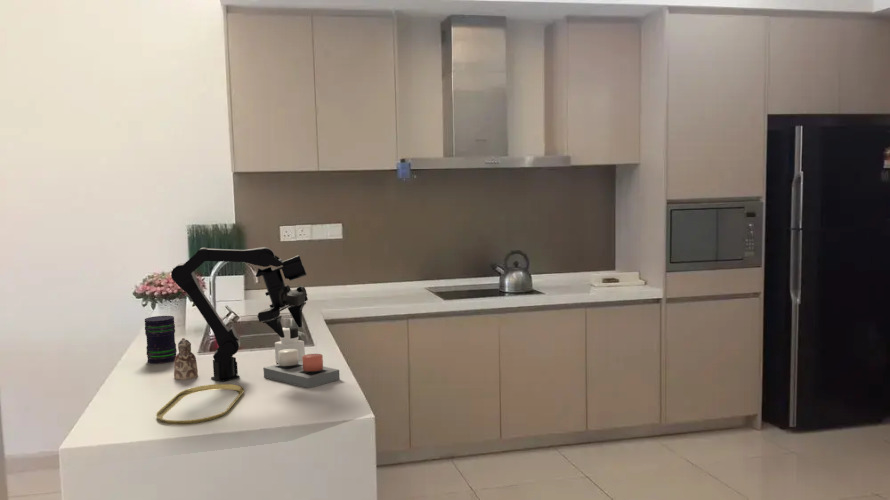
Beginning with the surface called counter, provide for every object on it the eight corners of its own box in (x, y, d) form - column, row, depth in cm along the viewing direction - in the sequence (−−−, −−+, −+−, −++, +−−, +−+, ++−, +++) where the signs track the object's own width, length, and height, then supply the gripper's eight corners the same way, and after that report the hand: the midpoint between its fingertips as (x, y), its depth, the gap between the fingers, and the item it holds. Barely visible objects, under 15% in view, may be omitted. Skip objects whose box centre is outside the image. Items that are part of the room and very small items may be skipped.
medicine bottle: (291, 359, 266) (290, 324, 265) (305, 361, 262) (303, 326, 261) (275, 363, 261) (273, 328, 260) (289, 366, 256) (287, 330, 255)
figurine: (173, 380, 243) (171, 342, 242) (175, 375, 250) (172, 338, 249) (197, 378, 245) (195, 340, 244) (198, 372, 252) (196, 336, 250)
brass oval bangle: (146, 428, 197) (145, 422, 197) (187, 390, 232) (187, 385, 232) (220, 425, 198) (220, 418, 198) (250, 387, 233) (250, 382, 232)
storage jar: (167, 364, 265) (164, 320, 264) (141, 363, 267) (138, 320, 266) (182, 357, 275) (179, 315, 273) (157, 357, 277) (154, 315, 275)
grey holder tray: (308, 388, 228) (307, 378, 228) (264, 377, 243) (263, 367, 243) (339, 379, 237) (339, 369, 237) (295, 369, 252) (294, 360, 252)
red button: (311, 372, 231) (310, 359, 231) (298, 369, 235) (298, 356, 235) (327, 368, 236) (326, 355, 236) (314, 365, 240) (314, 352, 240)
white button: (286, 366, 239) (286, 354, 239) (275, 364, 243) (274, 351, 243) (302, 363, 244) (301, 350, 244) (290, 360, 248) (290, 348, 248)
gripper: (276, 290, 232) (293, 339, 234) (312, 272, 248) (328, 318, 250) (249, 297, 237) (266, 344, 239) (286, 278, 253) (301, 323, 255)
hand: (291, 332), depth 246 cm, fingers open, 9 cm apart
